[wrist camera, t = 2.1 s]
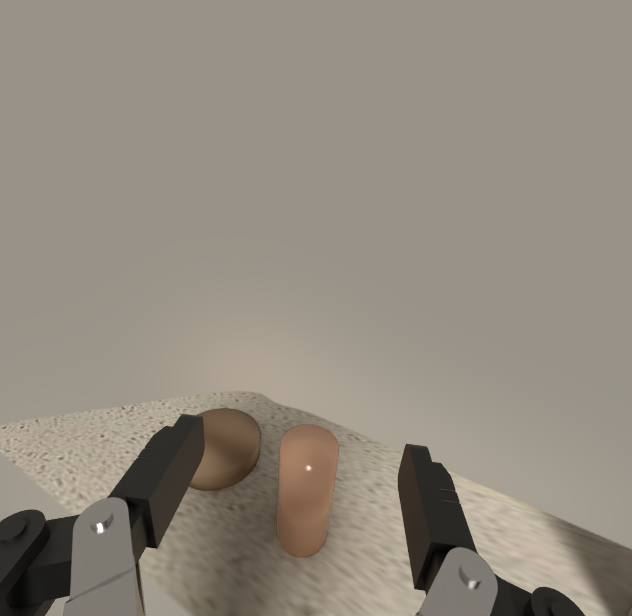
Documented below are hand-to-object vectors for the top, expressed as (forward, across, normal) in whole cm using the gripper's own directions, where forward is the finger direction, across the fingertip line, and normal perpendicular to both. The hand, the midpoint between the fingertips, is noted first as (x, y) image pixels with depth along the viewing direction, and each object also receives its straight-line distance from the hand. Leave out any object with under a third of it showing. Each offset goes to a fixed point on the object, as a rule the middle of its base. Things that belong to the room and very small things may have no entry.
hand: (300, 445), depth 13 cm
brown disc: (+19, +11, +22) cm, 31 cm away
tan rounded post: (+11, 0, +22) cm, 25 cm away
